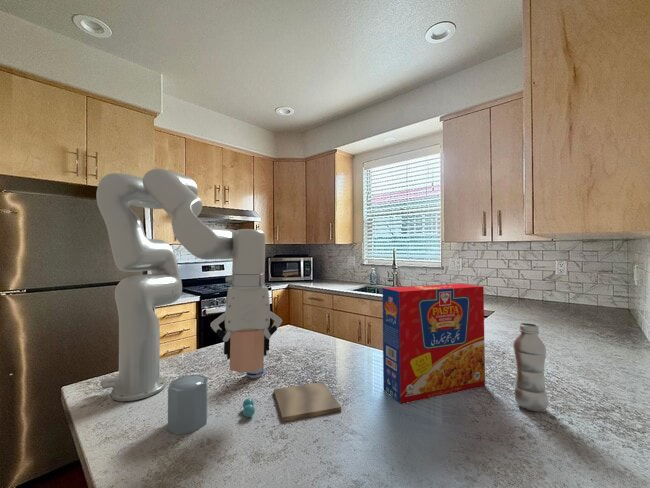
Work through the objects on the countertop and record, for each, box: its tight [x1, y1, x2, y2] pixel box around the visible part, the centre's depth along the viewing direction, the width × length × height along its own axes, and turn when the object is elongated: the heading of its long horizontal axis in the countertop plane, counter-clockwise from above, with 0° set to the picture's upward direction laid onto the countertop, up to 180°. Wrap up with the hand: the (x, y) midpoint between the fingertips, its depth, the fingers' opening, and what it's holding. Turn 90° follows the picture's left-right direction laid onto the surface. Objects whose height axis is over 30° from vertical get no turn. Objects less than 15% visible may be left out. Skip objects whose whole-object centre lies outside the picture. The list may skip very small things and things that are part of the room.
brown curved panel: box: [273, 381, 342, 423], centre depth 74 cm, size 14×14×1 cm
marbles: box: [242, 398, 256, 418], centre depth 69 cm, size 3×6×3 cm, turn 18°
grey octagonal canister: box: [167, 374, 209, 436], centre depth 65 cm, size 8×8×9 cm
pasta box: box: [382, 283, 486, 405], centre depth 82 cm, size 28×8×28 cm, turn 110°
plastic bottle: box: [512, 322, 549, 413], centre depth 71 cm, size 6×7×20 cm
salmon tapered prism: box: [229, 330, 265, 374], centre depth 70 cm, size 8×8×9 cm
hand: (246, 355), depth 70 cm, fingers closed on salmon tapered prism, 7 cm apart
